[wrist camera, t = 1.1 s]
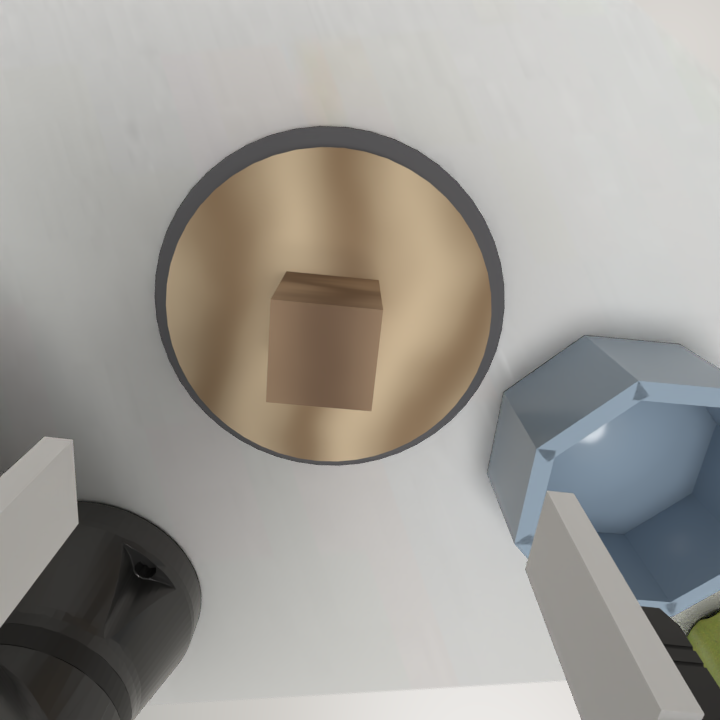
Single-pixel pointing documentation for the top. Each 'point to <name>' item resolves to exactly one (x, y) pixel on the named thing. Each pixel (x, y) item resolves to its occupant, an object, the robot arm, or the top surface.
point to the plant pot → (708, 644)
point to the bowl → (621, 460)
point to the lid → (328, 304)
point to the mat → (355, 141)
